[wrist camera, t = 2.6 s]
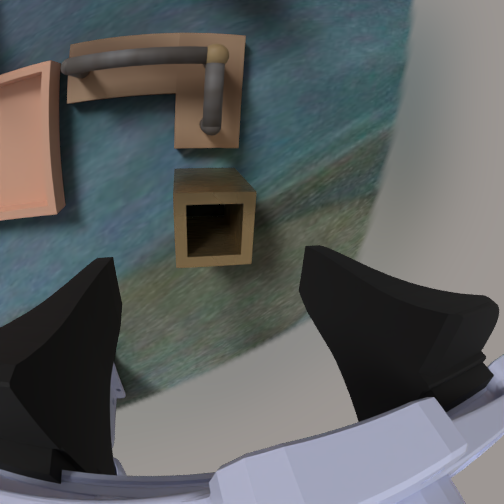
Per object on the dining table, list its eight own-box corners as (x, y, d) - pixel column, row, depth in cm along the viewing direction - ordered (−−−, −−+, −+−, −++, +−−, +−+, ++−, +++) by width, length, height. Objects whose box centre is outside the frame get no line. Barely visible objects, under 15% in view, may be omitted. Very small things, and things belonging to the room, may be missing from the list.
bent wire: (235, 146, 19) (249, 155, 15) (73, 154, 16) (49, 167, 13) (242, 39, 16) (258, 22, 12) (75, 47, 13) (52, 35, 10)
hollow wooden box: (232, 223, 22) (251, 263, 16) (175, 225, 21) (176, 268, 15) (234, 168, 20) (256, 191, 15) (174, 168, 19) (173, 193, 14)
